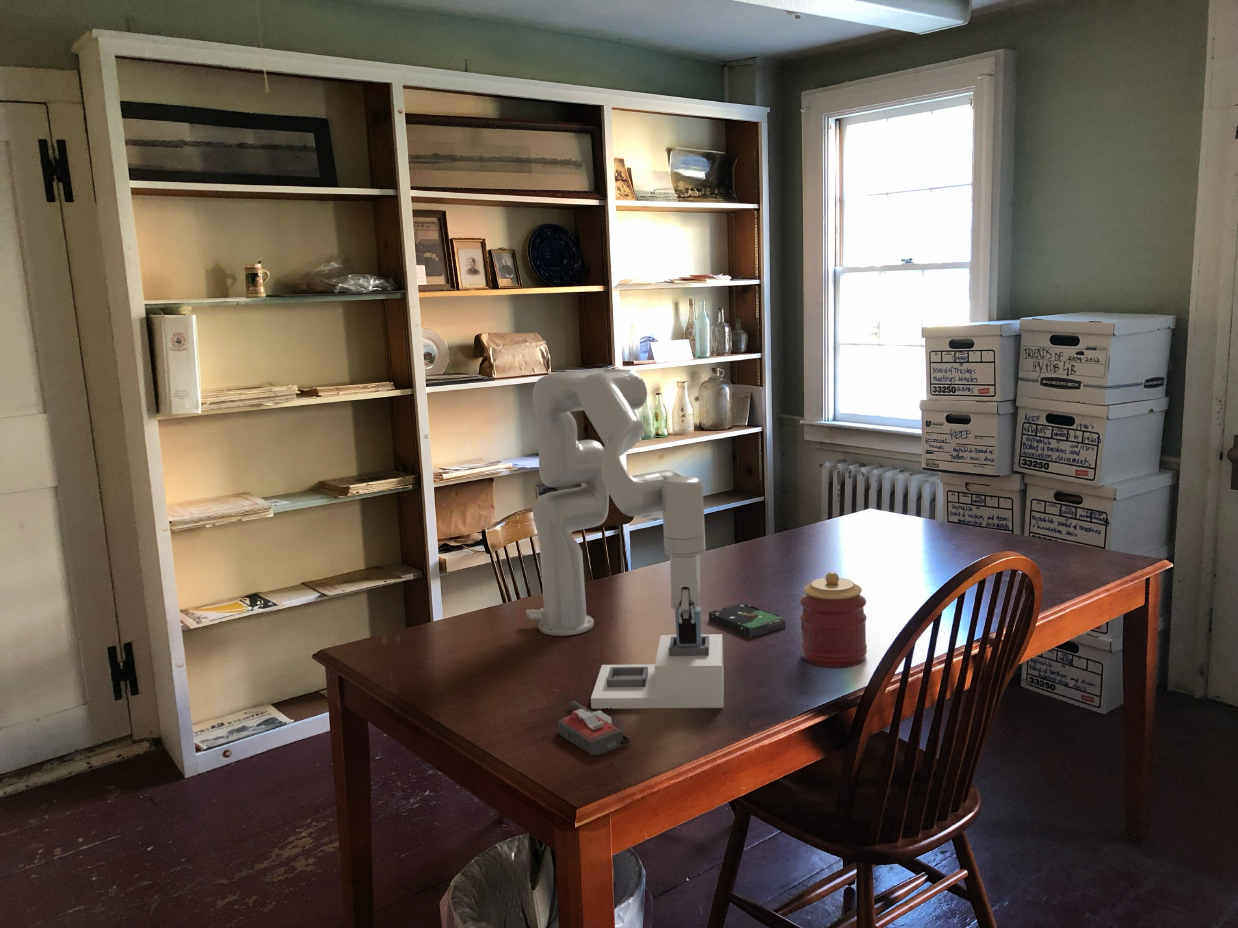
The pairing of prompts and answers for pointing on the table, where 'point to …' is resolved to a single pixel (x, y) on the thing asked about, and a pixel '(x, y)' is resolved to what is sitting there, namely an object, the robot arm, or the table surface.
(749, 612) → the disk drive
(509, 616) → the table surface
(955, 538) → the table surface
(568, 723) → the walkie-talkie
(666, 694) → the dock
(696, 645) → the plug
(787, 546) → the table surface
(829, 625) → the canister
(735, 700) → the table surface
